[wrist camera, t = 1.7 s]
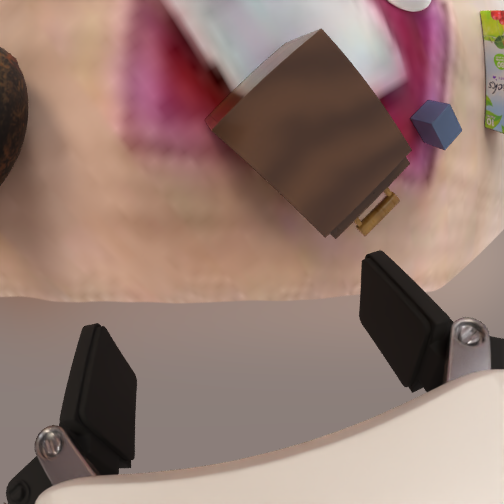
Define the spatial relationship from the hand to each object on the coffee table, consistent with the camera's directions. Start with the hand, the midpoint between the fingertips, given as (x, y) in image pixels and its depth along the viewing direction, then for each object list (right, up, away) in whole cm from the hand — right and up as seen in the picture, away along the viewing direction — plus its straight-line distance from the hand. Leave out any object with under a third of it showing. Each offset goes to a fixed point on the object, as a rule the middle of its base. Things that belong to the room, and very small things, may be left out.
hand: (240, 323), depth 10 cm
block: (+24, +20, +25) cm, 40 cm away
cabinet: (+5, +17, +22) cm, 28 cm away
